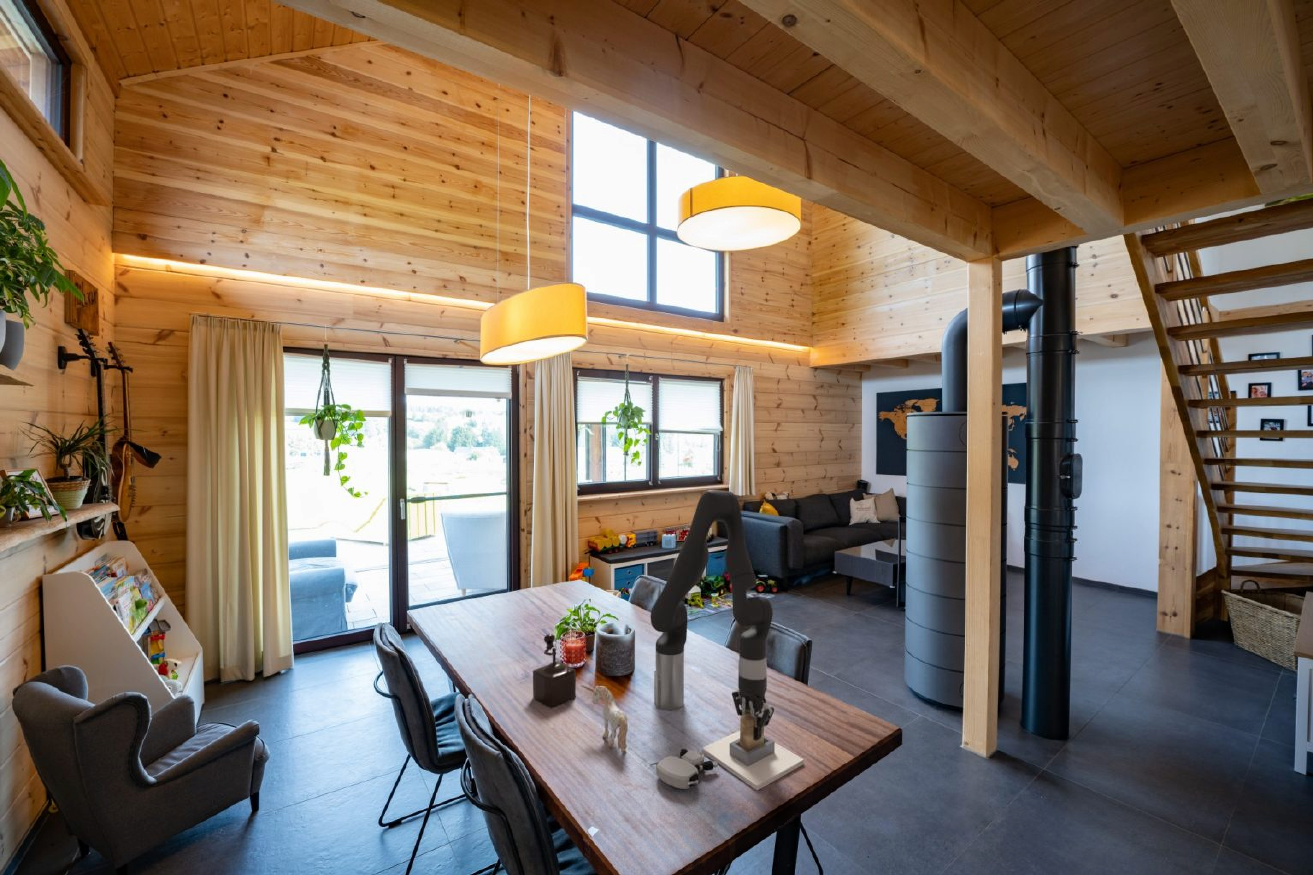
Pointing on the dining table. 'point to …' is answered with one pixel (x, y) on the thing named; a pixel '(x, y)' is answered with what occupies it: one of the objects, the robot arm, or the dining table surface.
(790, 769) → the socket base
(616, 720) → the unicorn figurine
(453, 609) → the dining table surface
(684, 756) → the robot toy
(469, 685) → the dining table surface
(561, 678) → the dark block with post
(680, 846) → the dining table surface
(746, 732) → the tall wooden peg block
